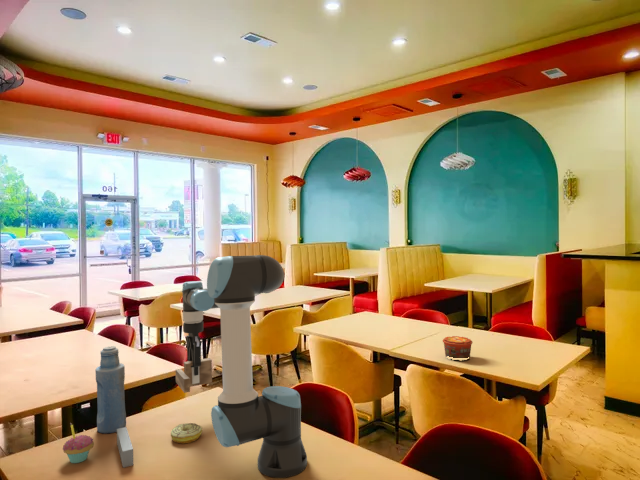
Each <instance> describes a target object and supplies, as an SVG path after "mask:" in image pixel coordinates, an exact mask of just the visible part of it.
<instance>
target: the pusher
mask: <svg viewBox="0 0 640 480" xmlns="http://www.w3.org/2000/svg"><path fill="white" fill-rule="evenodd" d="M212 361H213V359H211V358H210V357H207V358H201V366H199V381H200V383H196V384H192V368H191V366H192V361H188V360H187V361H183V369H182V368H177V369H175V383H176V384H177V385H178V387H179V388H180V389H181V390H182V392H183V393H184V394H186V393H190V391H191V387H195V386H201V385H206V384H212V383H213V362H212Z"/></svg>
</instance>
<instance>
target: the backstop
mask: <svg viewBox="0 0 640 480" xmlns="http://www.w3.org/2000/svg"><path fill="white" fill-rule="evenodd" d="M116 444H117V445H116V446H117V449H118V452H119V456H120V457H119V458H120V461H121V465H122V468H124V469H125V468H128V467H131V466H134V464H135V463H134V447H133V445H132V441H131V438H130V434H129V431H128V429H127V426H125V427H124V428H119V429H117V432H116Z"/></svg>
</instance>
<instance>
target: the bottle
mask: <svg viewBox="0 0 640 480" xmlns="http://www.w3.org/2000/svg"><path fill="white" fill-rule="evenodd" d="M119 352H120V351H119V348H117V347H116V346H114V345H113V346H105V347H103V348H102V350H100V363H99V366H97V367H96V368H95V382H96V398H97V399H96V400H97V403H96V404H97V414H96V431H97V432H98V433H100V434H112V433H117V429H119V428H124V427H127V413H126V403H125V402H126V401H125V400H126V399H125V398H126V397H125V379H126V378H125V377H126V375H125V374H126V373H125V371H126V370H125V365H124V363H121V362H120V358H119V357H120V356H119Z"/></svg>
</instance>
